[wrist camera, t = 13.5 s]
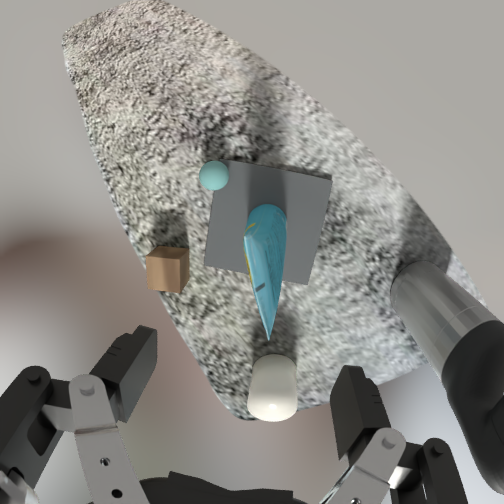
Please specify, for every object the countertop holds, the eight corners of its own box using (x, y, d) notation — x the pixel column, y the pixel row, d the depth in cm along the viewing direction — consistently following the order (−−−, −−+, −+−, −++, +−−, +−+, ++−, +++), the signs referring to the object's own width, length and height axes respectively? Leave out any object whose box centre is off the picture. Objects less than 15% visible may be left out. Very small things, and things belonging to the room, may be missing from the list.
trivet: (331, 180, 35) (332, 180, 34) (307, 283, 39) (307, 285, 39) (220, 158, 35) (219, 158, 34) (204, 263, 39) (203, 265, 39)
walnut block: (179, 259, 35) (145, 256, 35) (180, 293, 36) (147, 288, 36) (189, 248, 39) (158, 245, 39) (189, 279, 40) (159, 275, 41)
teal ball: (233, 162, 34) (229, 163, 31) (228, 190, 36) (223, 194, 32) (205, 158, 34) (198, 158, 31) (201, 186, 36) (193, 189, 32)
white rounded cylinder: (296, 353, 43) (297, 390, 35) (296, 384, 45) (297, 420, 37) (250, 354, 44) (244, 390, 36) (254, 385, 46) (249, 421, 38)
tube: (239, 200, 36) (204, 247, 18) (277, 189, 35) (283, 225, 17) (257, 256, 38) (242, 346, 20) (294, 246, 37) (311, 330, 19)
